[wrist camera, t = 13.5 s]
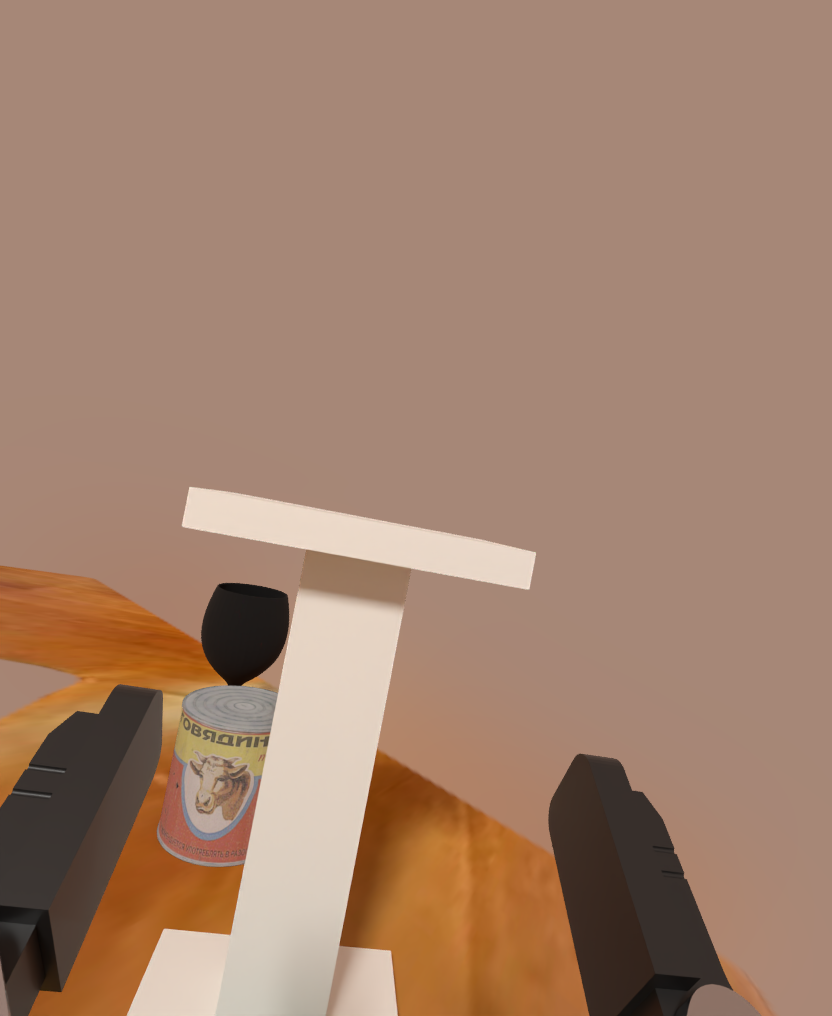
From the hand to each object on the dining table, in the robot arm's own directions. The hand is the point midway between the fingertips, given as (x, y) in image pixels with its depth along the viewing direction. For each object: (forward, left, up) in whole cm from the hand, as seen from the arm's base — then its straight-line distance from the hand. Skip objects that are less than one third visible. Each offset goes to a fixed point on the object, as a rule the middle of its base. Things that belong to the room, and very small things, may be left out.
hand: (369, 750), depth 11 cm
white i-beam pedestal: (-17, +17, -28) cm, 37 cm away
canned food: (-37, +27, -28) cm, 54 cm away
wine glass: (-52, +37, -28) cm, 70 cm away
